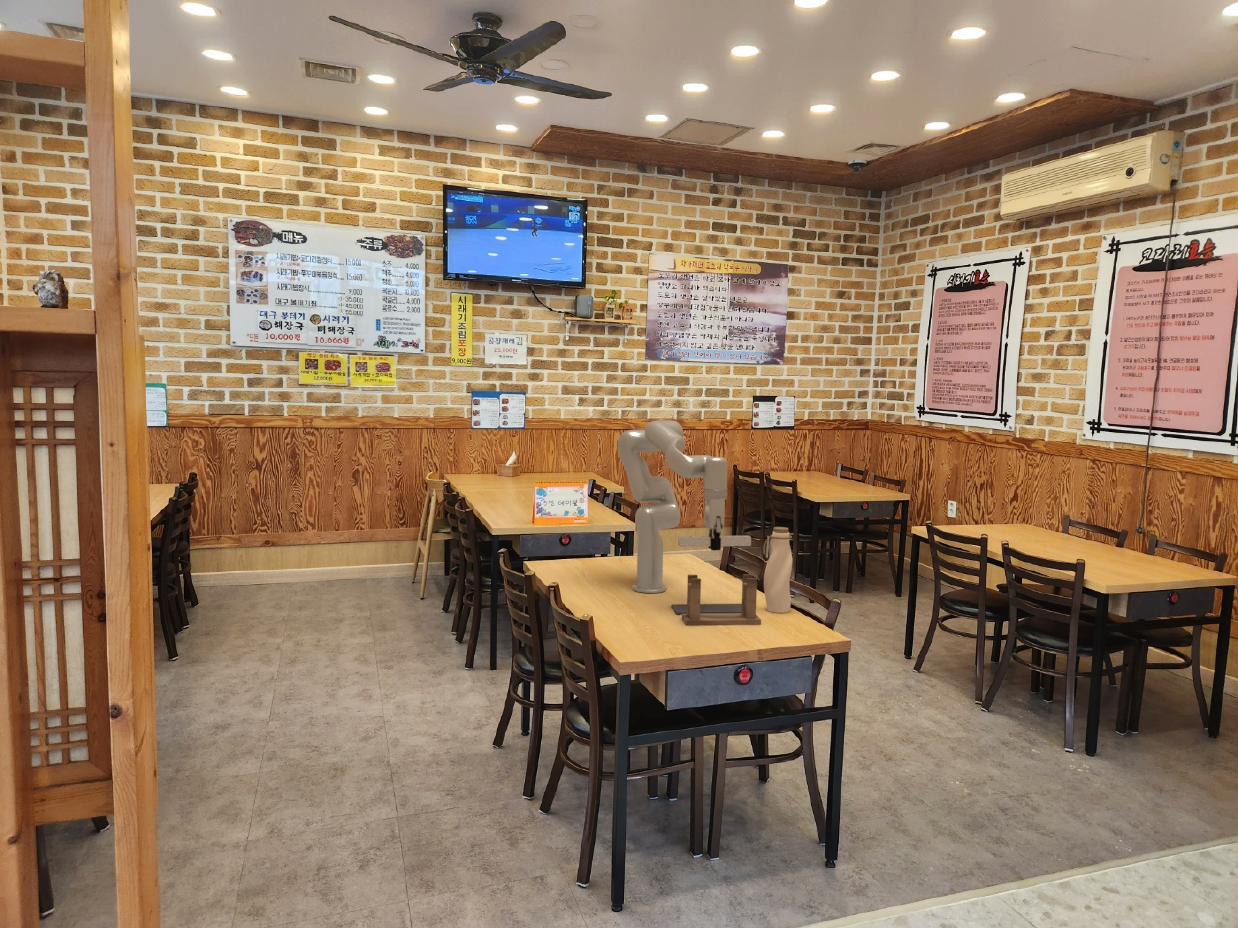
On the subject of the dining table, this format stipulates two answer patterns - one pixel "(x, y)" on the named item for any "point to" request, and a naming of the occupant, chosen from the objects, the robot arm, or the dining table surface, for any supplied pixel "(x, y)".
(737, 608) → the black mat
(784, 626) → the dining table surface
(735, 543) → the steel rail
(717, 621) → the walnut rack
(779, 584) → the water bottle
